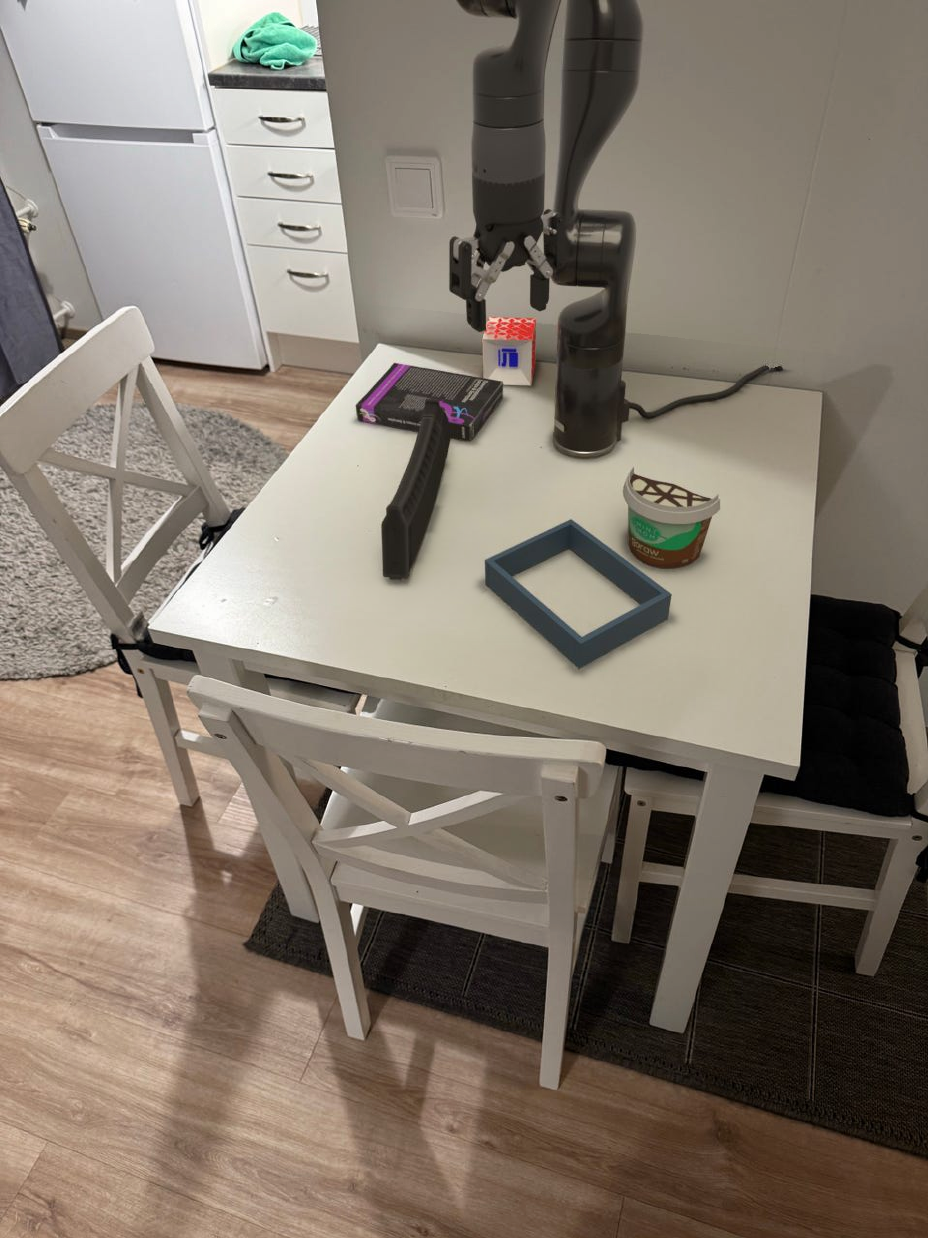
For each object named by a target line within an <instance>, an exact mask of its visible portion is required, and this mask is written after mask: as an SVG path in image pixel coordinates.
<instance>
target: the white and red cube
mask: <svg viewBox="0 0 928 1238" xmlns="http://www.w3.org/2000/svg"><path fill="white" fill-rule="evenodd" d="M536 342H537V318H536V317H501V316H500V317H499V316H488V317H487V319H486V330H485V331H483V335H482V339H481V348H482V378H485V379H491V380H496V381H502V382H503V386H504V385H505V386H509V385H511V386H532V385H533V379H534V371H535V368H536V350H537V349H536V344H537V343H536Z"/></svg>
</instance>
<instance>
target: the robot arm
mask: <svg viewBox="0 0 928 1238" xmlns="http://www.w3.org/2000/svg"><path fill="white" fill-rule="evenodd" d="M454 2H455V3H456V4H457V6H458V7H459V8H460V9H461V10H462V11H463V12H465V13H467V14H469V15H471V16H473V17H477V18H491V19H509V20H517V25H516V31H515V34H514V37H513V39H512V41H511V42H509V43H506V44H505V43H504V44H499V45H494V46H490V47H487V48H484V49H482V50H481V51H479V52H478V53H476V55H475V57H474V58H473V61H472V65H471V101H472V103H471V104H472V105H471V107H472V129H471V130H472V132H471V140H470V155H471V157H470V158H471V191H472V193H471V194H472V214H473V217H474V221H475V229H474V233H473V234H472V235H473V236H469V237H465V238H460V237H459V236H455V235H454V236H451V238H450V239H449V245H448V247H449V249H448V250H449V252H448V253H449V259H448V260H449V263H448V265H449V266H448V268H449V269H448V283H449V284H448V289H449V292H450V293H452V294H454V295H455V296H457V297H458V298H460V299H461V300H464V301H465V311H466V322H467V324H468V325H469V326H470V328H472V329H473V330H474V331H476V332H478V333H482V332H484V331H485V330H486V324H487V300H486V299H485V296H486V295H487V293H488V291H489V289H490V287H491V285H492V284H494V283H495V282H497V280H498V278H499V276H500V275H501V273H504V272H508V271H509V270H511V269H513V268H514V267H515V268H517V267H519V268H520V267H523V266H526V264H527V266H528V267H529V269H530V270H531V271H532V272H533V273H532V274H530V275H529V305H530V307H531V308H532V309H534V310H535V311H538V312H542V311H546V309H547V305H548V304H549V300H550V281H551V282H553V284H555V285H556V286H563V287H575V288H577V287H579V288H601V289H602V290H601V291H599V292H598V293H596V294H594V295H591V296H589V297H586V298H583V299H580V300H577V301H574V302H572V303H569V304H568V305H566V306H565V307H563V309H562V310H561V311H560V313H559V315H558V318H557V330H556V331H557V332H556V333H557V334H556V359H555V361H556V362H555V363H556V365H555V386H554V387H555V389H554V391H555V392H554V415H553V416H554V418H553V421H554V422H553V433H552V444H553V446H554V447H555V449H556V450H557V451H558V452H560V453H561V454H563V455H566V456H569V457H572V458H578V459H594V458H599V457H603V456H605V455H607V454H609V453H610V452H612V451H613V450H614V449H615V447H616V445H617V443H618V442H620V441H621V439H622V430H623V429H622V428H623V423H625V422H626V423H627V422H628V421H630V420H629V419H630V410H634V411H636V412H637V413H638V414H639V415H640V416H641V418H644V419H654V418H657V417H660V416H662V415H664V414H666V413H668V412H669V411H671V410H673V409H675V408H677V407H679V406H683V405H686V404H692V403H697V402H705V401H713V400H717V399H721V398H724V397H727V396H729V395H732V394H734V393H735V392H737V391H738V390H739V389H740V388H741V387H742V386H744V385H745V383H746V382H749V381H750V380H752V379H754V378H755V377H757V376H759V375H761V374H763V373H764V372H766V371H768V370H775V371H778V372H782V371H784V368H783V366H782V365H781V366H778V367H775V368H771V369H769V367H768V366H766V364H764V365H765V366H764V365H762V366H760V367H757V368H756V369H755V370H753V371H751V372H749V373H747V374H746V375H744V376H743V377H741V378H740V379H739V380H738V381H737V382H736V383H734V384H733V385H732V386H730V387H728V388H727V389H724V390H721V391H718V392H712V393H706V394H697V395H692V396H687V397H686V396H685V397H682V398H678V399H676V400H673V401H672V402H670V403H669V404H666V405H664V406H662V407H660V408H658V409H657V410H654V411H646V410H645V409H644V407H643V406H642V405H641V404H638V403H635V402H631V401H629V400H628V399H626V398H625V397H626V387H627V384H626V382H625V381H624V380H623V379H622V375H623V364H624V352H625V340H626V327H627V314H628V313H627V312H628V303H629V302H628V301H629V293H630V285H631V279H632V272H633V265H634V260H635V259H634V258H635V252H636V243H637V225H636V221H635V218H634V216H633V214H632V213H631V212H630V211H627V210H615V209H613V210H612V209H589V208H588V209H587V208H586V209H583V208H581V209H580V208H579V200H580V196H581V192H582V189H583V186H584V184H585V181H586V179H587V177H588V174H589V172H590V171H591V169H592V167H593V165H594V163H595V161H596V159H597V158H598V155H599V154H600V152H601V151H602V149H603V147H604V146H605V144H606V143H607V142H608V140H609V139H610V137H611V136H612V134H613V133H614V131H615V130H616V128H617V126H618V125H619V123H621V121H622V119H623V117H624V116H625V114H626V113H627V111H628V109H629V108H630V106H631V105H632V103H633V101H634V99H635V96H636V94H637V92H638V88H639V84H640V77H641V66H642V53H643V40H644V31H645V27H644V25H645V24H644V17H643V12H642V9H641V6H640V3H639V0H565V9H564V20H563V33H562V44H561V45H562V47H561V65H560V98H559V100H560V101H559V131H558V152H557V162H556V163H557V164H556V172H555V173H556V174H555V183H554V191H553V192H554V194H553V200H552V201H553V202H552V209H549V208H547V209H545V191H546V190H545V188H546V186H545V185H546V181H545V180H546V147H547V146H546V145H547V144H546V132H545V119H544V118H545V117H544V116H545V114H544V113H545V75H546V68H547V62H548V58H549V57H548V56H549V51H550V46H551V43H552V37H553V34H554V33H553V32H554V29H555V25H556V21H557V17H558V14H559V9H560V6H561V2H562V0H454ZM541 236H542V238H543V251H542V249H541V248H540V247H539V245H538V242H539V240H540V237H541ZM475 252H476V255H475ZM485 264H486V265H487V266H489V268H488V269H484V267H485Z"/></svg>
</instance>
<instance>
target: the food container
mask: <svg viewBox="0 0 928 1238" xmlns="http://www.w3.org/2000/svg"><path fill="white" fill-rule="evenodd" d="M624 481H625V482H624V484H623V488H622V497H623V499H624V501H625V502H626V504H627V524H628V525H627V526H628V527H627V528H628V533H627V535H628V537H627V539H628V542H627V543H628V544H627V545H628V547H629V551H630V553H631V554H632V555H633V556H634V557H635V559H637V560H638V561H639V562H641V563H643V564H645V565H647V566H648V567H649V566H650V567H653V568H657V569H665V570H667V569H669V570H670V569H671V570H673V569H679V568H684V567H687V566H689V565H692V564H693V563H694V562H695V561H697V560H698V559H699V558H700V556H701V553H702V549H703V547H704V544H705V540H706V537H707V535H708V531H709V528H710V525H711V522H712V519H713V516H715V515H716V514H718V513H719V511H721V499H720V498H719V495H720V494H719V493H718V494H716V495H715V496H714V497H713V498H711V497H707V496H703V495H700V494H697V493H695V492H692V491H690V490H688V489H686V488H684V487H682V486H680V485H678V484H675V483H672V482H671V483H670V482H668V481H667V482H666V481H661V480H655V479H651V478H649V477H645V476H643V475H638V474H637V473H635V466H632V468H631V469H630V471H629V472H628V474H627V476H626V478H625V480H624Z"/></svg>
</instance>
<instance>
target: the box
mask: <svg viewBox="0 0 928 1238" xmlns="http://www.w3.org/2000/svg"><path fill="white" fill-rule="evenodd" d="M503 398H504V385H503V382H502V381H496V380H491V379H485V378H483V377H478V376H475V375H467V374H462V373H457V372H451V371H450V372H449V371H445V370H439V369H435V368H428V367H422V366H417V365H411V364H404V363H398V362H393V363H392V364H391V365H390V367H389V368H388V369H387V370H386V371H385V373H384V374H383V375H382V376H381V377H380V378H379V379H378V380H377V381H376V382H375V384H374V385H372V387H371V388H370V389H369V390H368V391H367V392H366V393H365V394H364V395H363V397H362V398H361V399H360V400H359V401H357V403H356V404H355V405H354V406H355V412H356V416H357V420H358V422H364V423H368V424H369V423H370V424H374V425H381V426H386V427H391V428H397V429H402V430H408V431H411V432H417V433H418V431H419V427H420V424H421V421H422V415H423V412H424V408H425V400H426V399H437V400H439V404H440V407H441V408H442V409H444V410H445V413H446V415H447V417H448V420H449V427H450V434H451V439H453V440H459V441H460V440H461V441H464V442H469V443H472V441H473V440H474V438H476V436H477V434H478V432H479V431H480V430H481V428H482V427H483V426H484V424H485V423H486V421H487V420H488V419H489V417H490V416H491V415H492V413H493V412H494V410H495V409H496V408H497V406H498V405H499V403H500V402H501V401H502V400H503Z"/></svg>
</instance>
